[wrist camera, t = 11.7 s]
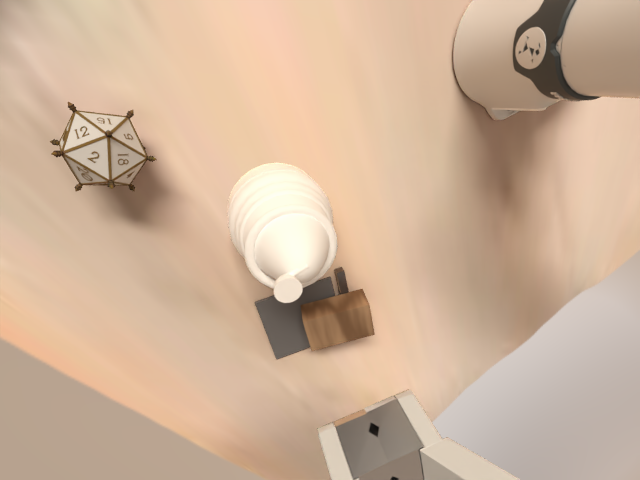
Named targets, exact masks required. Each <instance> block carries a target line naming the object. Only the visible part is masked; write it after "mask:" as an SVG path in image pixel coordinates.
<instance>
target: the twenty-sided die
mask: <svg viewBox="0 0 640 480" xmlns="http://www.w3.org/2000/svg"><path fill="white" fill-rule="evenodd" d="M68 107H69V108H70V110H72V111H73V114H72V116H71V118H70V120H69V122H68V124H67V127H66V129H65V131H64V133H63V135H62V137H61V139H60V141H58V140H55V139H54V140H52V141H50V142H51V143H52V144H53V145H59V146H60V151H54V152H53V153H52V155H54V156H56V157H58V156H59V157H60V156H61V155H62V156H63V158H64V160H65V161H66V163H67V164H68V166H69V168H70V169H71V171H72V172H73V174H74V176H75V177H76V179H77V180H78V182H79V184H78V185H77V186H76V187H75V189H76V191H79V190H81V188H82V185H108V187H110V188H111V189H112V188H113V187H115V186H114V185H128V186H129V188H130V190H132V191H135V187H134V185H132V184H131V183H132V182H133V180H134V179H135V177H136V176H137V174H138V173H139V171H140V170H141V168H142V167H143V165H144V164H145V162H146V161H147V160H149V161H152V162H153V161H155V160H157V159H156V158H154V157H153V156H152V157H151V156H147V154H146V152H145V148H144V147H143V145H142V143H141V141H140V139H139V137H138V135H137V133H136V131H135V129H134V127H133V125H132V123H131V121H130V118H131V117H132V116H133V110H131V111H128V113H127V116H119V115H111V114H102V113H94V112H85V111H77V110H76V107H74V104H72V103H70V102H68Z"/></svg>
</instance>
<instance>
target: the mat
mask: <svg viewBox="0 0 640 480" xmlns="http://www.w3.org/2000/svg"><path fill="white" fill-rule="evenodd" d="M333 296H335V294H334V289H333V285H332V281H331V277H328V278H325V279H322V280H319V281H316V282H315V283H313V284H311V285H308V286H306V287H304V288H303V290H302V294H301V296H300V297H299V298H298V299H297V300H295V301H293V302H290V303H283V302H280V301H278V300H277V299H276V298H275V296H271V297H268V298H265V299H262V300H260V301H257V302H255V305H256V307H257V310H258V312H259V315H260V318H261V320H262V323H263V325H264V328H265V331H266V333H267V336H268V338H269V341H270V344H271V346H272V349H273V351H274V354H275V357H276V359H279V358H282V357H284V356H287V355H290V354H293V353H295V352H298V351H301V350H304V349H306V348H309V347H310V344H309V340H308V337H307V334H306V330H305V327H304V324H303V319H302V313H301V306H300V305H303V304H306V303H310V302H314V301H318V300H322V299H326V298H329V297H333Z"/></svg>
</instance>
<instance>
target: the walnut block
mask: <svg viewBox="0 0 640 480" xmlns="http://www.w3.org/2000/svg"><path fill="white" fill-rule="evenodd" d="M300 306H301V313H302V319H303V324H304V327H305V330H306V334H307V337H308V340H309V344H310V347H311V350H312V351H315V350H318V349H322V348H326V347H330V346H333V345H337V344H341V343H344V342H348V341H352V340H356V339H359V338H363V337H367V336H371V335H374V329H373V323H372V317H371V312H370V306H369V303H368V301H367V298H366V296H365V294H364V292H363V289H360V290H356V291H352V292H349V293H345V294H341V295H337V296H333V297H329V298H326V299H322V300H318V301H314V302H310V303H306V304H303V305H300Z"/></svg>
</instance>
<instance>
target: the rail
mask: <svg viewBox="0 0 640 480" xmlns="http://www.w3.org/2000/svg"><path fill="white" fill-rule="evenodd" d="M334 270H335V275H336V279H337V284H338V288H339V292H340V295H341V294H345V293H349V292H348V287H347V282H346V278H345V273H344V270H343V268H342V267H340V268H337V269H334Z"/></svg>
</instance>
